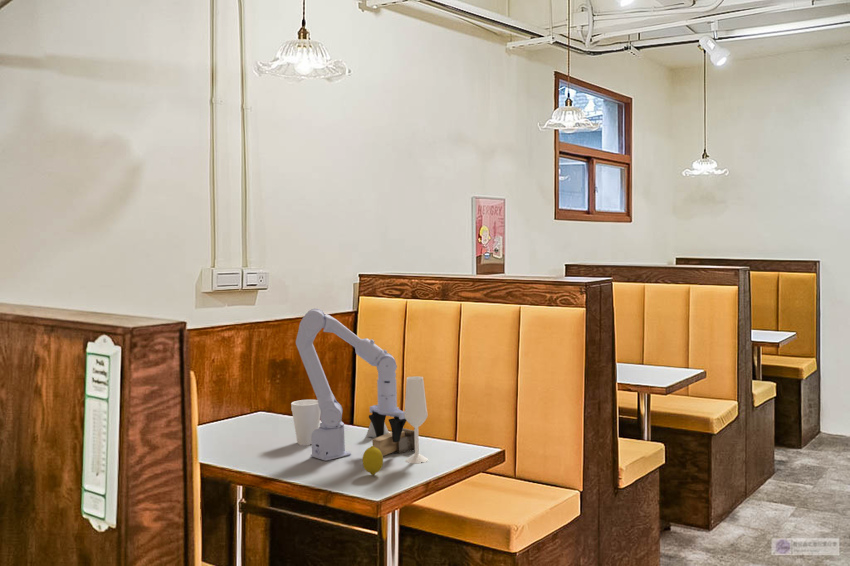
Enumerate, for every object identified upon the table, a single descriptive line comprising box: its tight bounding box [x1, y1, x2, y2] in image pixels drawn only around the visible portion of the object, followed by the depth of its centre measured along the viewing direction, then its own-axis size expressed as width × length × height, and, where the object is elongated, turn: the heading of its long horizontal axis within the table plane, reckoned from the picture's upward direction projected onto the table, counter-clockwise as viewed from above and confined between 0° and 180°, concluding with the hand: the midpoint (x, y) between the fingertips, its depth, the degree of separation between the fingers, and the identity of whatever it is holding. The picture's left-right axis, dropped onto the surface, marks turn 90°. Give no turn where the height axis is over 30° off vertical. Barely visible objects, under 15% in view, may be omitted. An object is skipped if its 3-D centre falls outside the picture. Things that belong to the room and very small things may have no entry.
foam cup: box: [290, 399, 321, 446], centre depth 249 cm, size 10×9×13 cm
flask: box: [366, 404, 390, 438], centre depth 256 cm, size 7×7×10 cm
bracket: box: [394, 427, 415, 454], centre depth 237 cm, size 6×10×6 cm, turn 43°
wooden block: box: [371, 431, 405, 457], centre depth 234 cm, size 10×4×5 cm, turn 133°
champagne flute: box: [404, 375, 429, 464], centre depth 224 cm, size 7×7×24 cm
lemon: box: [362, 445, 384, 476], centre depth 211 cm, size 6×6×8 cm
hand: (388, 439), depth 234 cm, fingers open, 7 cm apart
